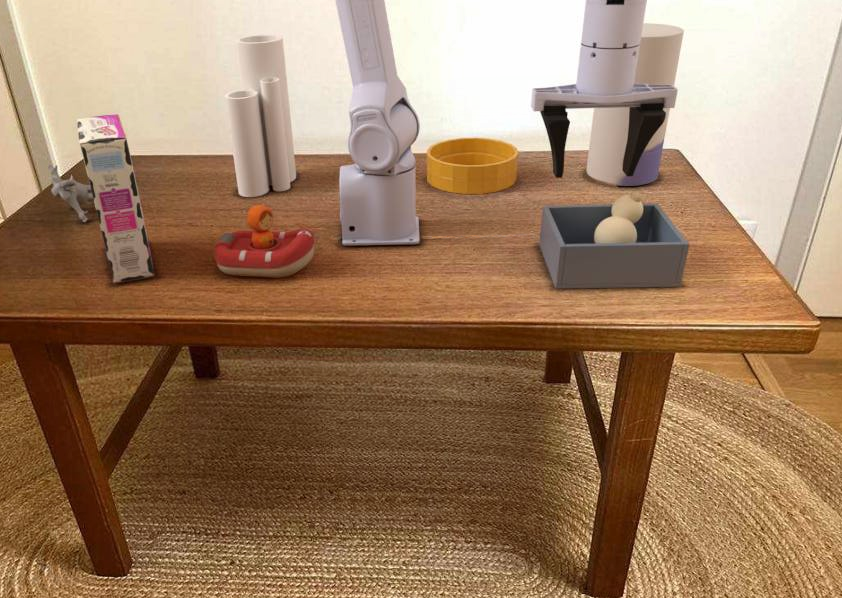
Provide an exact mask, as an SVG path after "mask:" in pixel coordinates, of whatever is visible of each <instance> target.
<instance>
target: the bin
mask: <svg viewBox="0 0 842 598" xmlns="http://www.w3.org/2000/svg"><path fill="white" fill-rule="evenodd" d="M613 204H614V203H612V204H574V205H572V204H571V205H543V206H542V212H541V222H540V230H539V231H540V233H539V242H538V245H539V248H540V250H541V253H542V256H543V260H544V261H545V264H546V267H547V270H548V273H549V275H550V277H551V280H552V283H553V286H554V288H555V289H556V290H561V289H563V290H564V289H566V290H567V289H617V288H618V289H622V288H623V289H624V288H630V289H631V288H676V287H677V288H680V287H681V286H682V280H683V277H684V271H685V269H686V268H685V267H686V262H687V259H688V258H687V257H688V253H689V250H690V246H691V245H690V242H688V240H687V239H686V238H685V236H684V235H683V233H682V232H681V231H680V230H679V228H678V227H677V226H676V225H675V224H674V222H673V221H672V220H671V218H670V217H669V216H668V215H667V214H666V212H665V211H664V210H663V208H662V207H661V206H660V205H659V203H642V205H643V214H642V216H641V218H640V219H639V220H638V221H637V222H636V223H634V224H633V225H634V226H635V228H636V232H637V239H636V243H602V244H595V241H594V234H595V230H596V228H597V226H598V225H599V224H600V223H601V222H602V221H603V220H604V219H606V218H608V217H612V212H611V210H612V206H613Z"/></svg>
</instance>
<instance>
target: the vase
mask: <svg viewBox="0 0 842 598" xmlns="http://www.w3.org/2000/svg"><path fill="white" fill-rule="evenodd" d="M234 44H235V52H236V61H237V67H238V75H239V84H240V89H238V90H233V91H230V92H228V93H226V94H224V101H225V108H226V114H227V121H228V122H227V123H228V128H229V135H230V143H231V149H232V155H233V164H234V168H235V169H234V170H235V177H236V184H237V191H238V195H239V196H240V197H245V198H255V197H260V196H263V195H266V194H267V193H269V191H270V189H271V188H270V186H271V187H272V190H273V191H274V192H285V191H288V190H290V189H291V182H293V181H295V180H296V178H297V169H296V160H295V149H294V140H293V128H292V119H291V110H290V109H291V108H290V100H289V99H290V98H289V97H290V96H289V89H288V88H289V87H288V77H287V69H286V56H285V48H284V47H285V46H284V38H283V36H281V35H277V34H255V35H248V36H242V37H238V38H236V39H234Z"/></svg>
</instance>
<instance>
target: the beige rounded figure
mask: <svg viewBox="0 0 842 598" xmlns="http://www.w3.org/2000/svg"><path fill="white" fill-rule="evenodd" d="M642 199H643V195H642V193H641V192H638V191H635V192H632V193H631V194H624V195H622V196H619V197H618V198H617V199H616V200H615V201H614V202H613V203H612V204H613V206H612V210H611V212H612V217H608V218H606V219H604V220H603V221H602V222H601V223H600V224H599V225H598V226H597V228H596V230H595V234H594V241H595V244H602V243H636V239H637V232H636V228H635V226H634V225H633V224H634V223H636V222H637V221H638V220H639V219H640V218H641V216H642V214H643V205H642V204H643V202H642Z"/></svg>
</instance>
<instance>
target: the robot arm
mask: <svg viewBox="0 0 842 598" xmlns="http://www.w3.org/2000/svg"><path fill="white" fill-rule="evenodd" d="M647 1H648V0H585V4H584V5H585V6H584V12H583V13H584V14H583V23H582V32H581V41H580V49H579V57H578V66H577V74H576V75H577V76H576V83H573V84H565V85H564V84H563V85H558V86H548V87H533V88H532V90H531V102H530V107H531V109H532V111H533V112H539V113H540V115H541V118H542V121H543V124H544V127H545V130H546V135H547V137H548V141H549V145H550V151H551V159H552V174H553V175H554V177H555V179H556V178H557V179H562V178H563V177H564V176H563V175H564V170H565V152H566V144H567V138H568V133H569V129H570V125H571V121H570V119H569V118H568V113H569V112H568V111H567V110H569V109H570V110H572V109H573V110H575V109H594V108H618V107H630V109H629V128H628V138H627V144H626V149H625V154H624V159H623V169H622V170H623V172H624V173H625V175H626V176H633V175H634V172H635V169H636V167H637V164H638V162H639V160H640V158H641V156H642V154H643V152H644V150H645V148H646V146H647V145H648V143H649V141H650V140H651V138H652V137H653V135H654V134H655V133H656V131H657V130H658V129H659V128H660V126H661V125H662V124H663V123H664V120H665V117H666V112H665V111H664V110H663V108H670V109H674V108H675V106H676V101H677V96H678V92H679V89H678V88H677V87H676V86H675V85H674V86H673V85H654V84H635V83H634V79H635V73H636V66H637V60H638V54H639V47H640V41H641V35H642V28H643V23H645V22H644V21H645V15H646V8H647ZM335 6H336V10H337V14H338V15H337V16H338V20H339V25H340V29H341V36H342V39H343V45H344V49H345V54H346V59H347V63H348V68H349V73H350V79H351V84H352V93H351V98H350V102H349V107H348V115H349V116H348V117H349V121H350V129H349V134H348V138H347V149H348V153H349V155H350V158H351V159H352V161H353V164H347V165H342V166H340V167H339V203H340V209H339V211H340V212H339V222H340V225H341V235H342V241H341V244H342V246H344V247H345V246H346V247H347V246H348V247H350V246H397V245H399V246H400V245H402V246H403V245H404V246H405V245H419V244H420V222H419V221H420V219H419V216H417V213H416V211H417V208H416V207H417V205H416V204H417V203H416V201H417V200H416V199H417V197H416V194H417V192H416V187H417V186H416V185H417V184H416V183H417V182H416V180H417V179H416V178H417V177H416V172H417V171H416V157H415V155H414V153H413V151H412V145H413V144H414V143H415V142H416V141H417V139H418V137H419V134H420V129H421V126H420V125H421V123H420V118H419V115H418V113H417V111H416V110H415V109H414V107H413V106H412V104H411V102H410V100H409V98H408V92H407V88H406V86H405V84H404V83H403V82H402V80H401V78H400V77H399V75H398V71H397V64H396V59H395V54H394V48H393V47H394V46H393V43H392V37H391V30H390V25H389V21H388V20H389V18H388V14H387V8H386V7H387V6H386V2H385V0H335Z"/></svg>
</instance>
